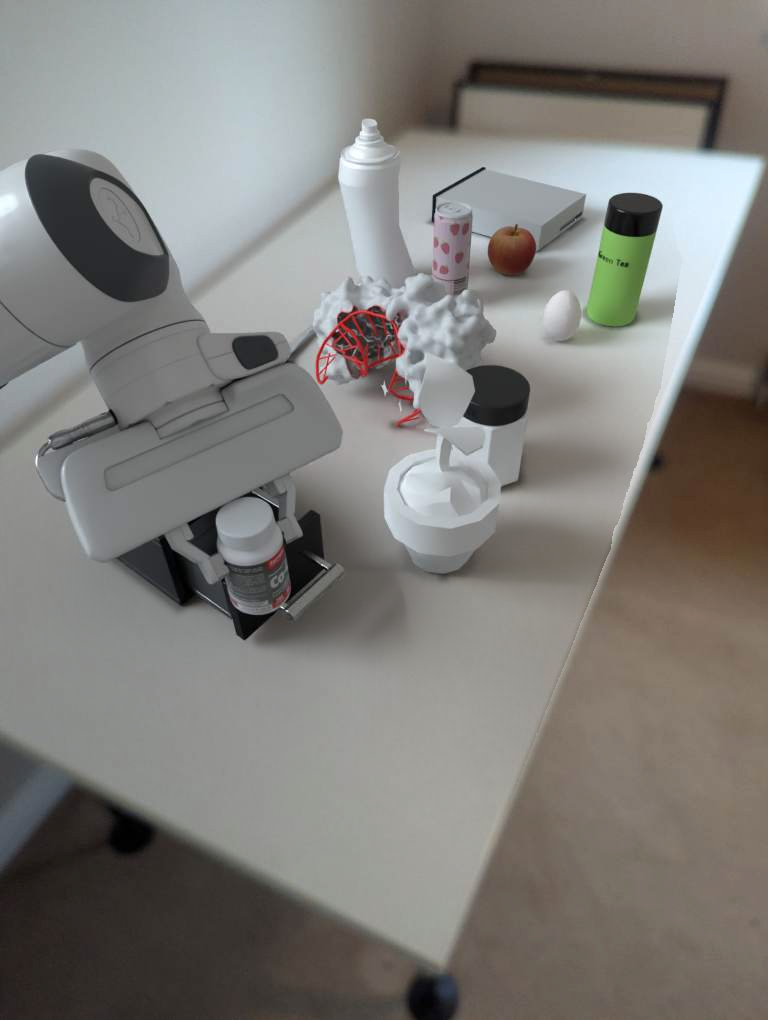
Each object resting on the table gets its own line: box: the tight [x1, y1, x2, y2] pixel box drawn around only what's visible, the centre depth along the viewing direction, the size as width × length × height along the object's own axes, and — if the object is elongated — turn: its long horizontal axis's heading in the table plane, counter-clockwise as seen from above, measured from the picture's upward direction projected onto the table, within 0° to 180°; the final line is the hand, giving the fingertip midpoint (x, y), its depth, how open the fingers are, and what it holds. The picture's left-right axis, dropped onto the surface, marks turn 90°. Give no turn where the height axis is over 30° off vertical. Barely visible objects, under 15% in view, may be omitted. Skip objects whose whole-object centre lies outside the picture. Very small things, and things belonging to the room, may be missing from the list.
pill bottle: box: [216, 497, 291, 615], centre depth 54 cm, size 5×5×8 cm
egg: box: [542, 289, 582, 342], centre depth 106 cm, size 5×5×8 cm
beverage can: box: [431, 202, 473, 296], centre depth 111 cm, size 6×6×15 cm
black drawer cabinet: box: [115, 485, 264, 607], centre depth 77 cm, size 15×13×10 cm
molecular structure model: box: [312, 272, 497, 427], centre depth 93 cm, size 20×18×25 cm
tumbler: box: [586, 192, 664, 328], centre depth 107 cm, size 8×8×17 cm
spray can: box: [337, 118, 417, 289], centre depth 112 cm, size 12×11×25 cm
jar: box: [451, 364, 531, 487], centre depth 84 cm, size 9×8×12 cm
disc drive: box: [431, 166, 587, 252], centre depth 137 cm, size 18×22×5 cm
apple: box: [487, 224, 537, 276], centre depth 121 cm, size 8×8×8 cm
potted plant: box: [380, 348, 502, 575], centre depth 69 cm, size 13×12×25 cm
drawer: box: [170, 488, 346, 641], centre depth 72 cm, size 18×12×8 cm, turn 52°
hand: (257, 559), depth 53 cm, fingers closed on pill bottle, 5 cm apart
